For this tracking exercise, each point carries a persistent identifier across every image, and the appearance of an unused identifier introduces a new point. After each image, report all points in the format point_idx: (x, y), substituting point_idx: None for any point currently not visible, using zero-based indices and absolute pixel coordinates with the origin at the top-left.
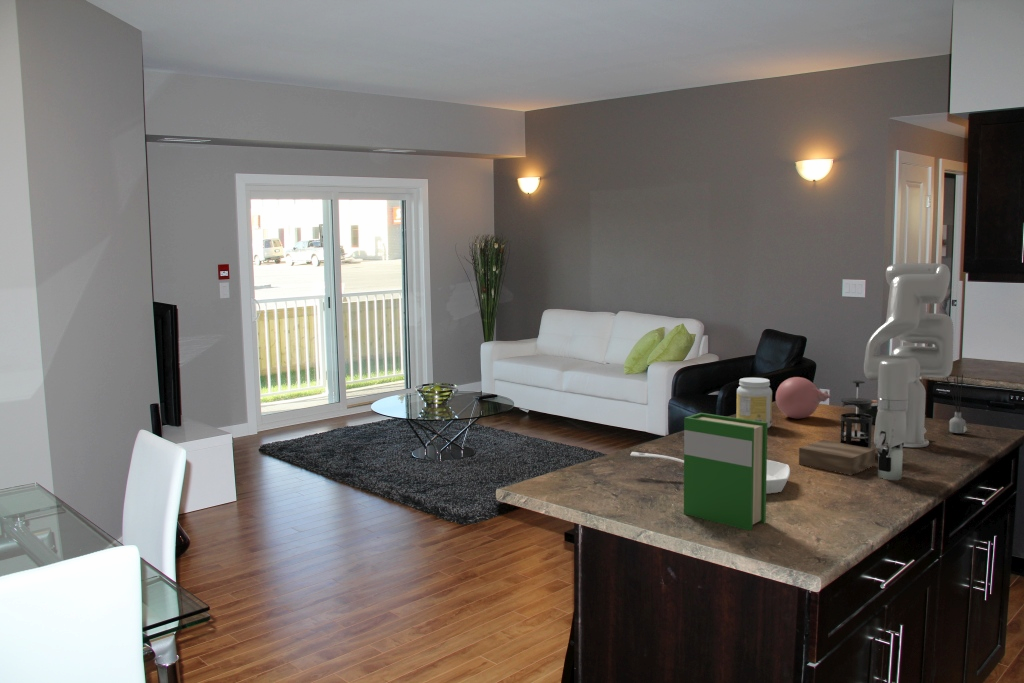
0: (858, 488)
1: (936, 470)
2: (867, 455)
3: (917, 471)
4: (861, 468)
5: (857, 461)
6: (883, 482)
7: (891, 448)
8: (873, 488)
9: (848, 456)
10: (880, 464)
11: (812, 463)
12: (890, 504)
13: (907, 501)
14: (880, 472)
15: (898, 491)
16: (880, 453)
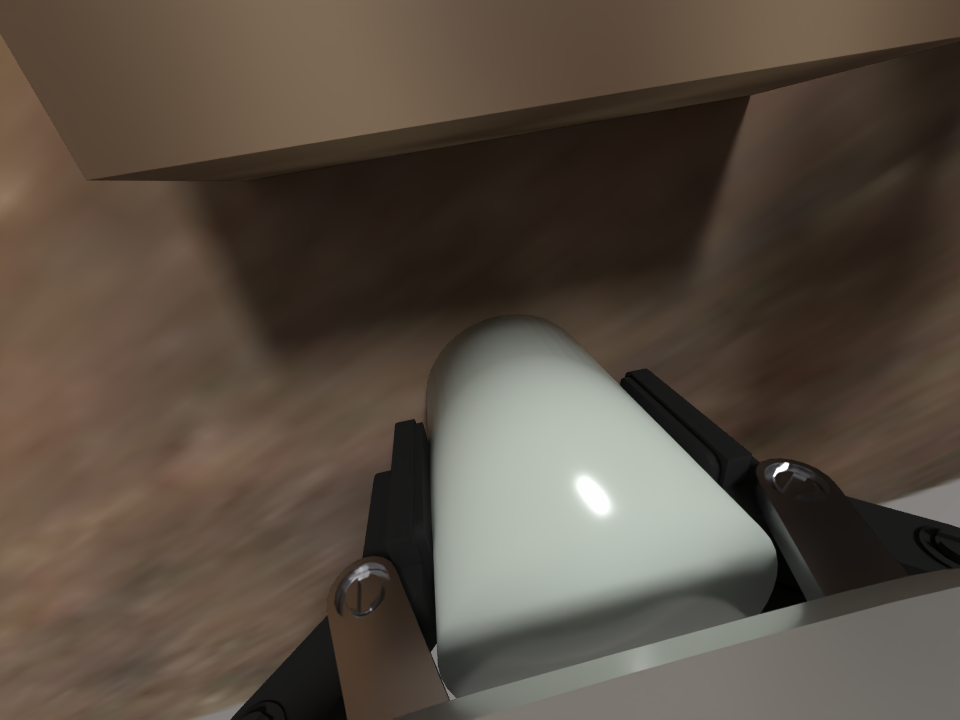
0: (28, 469)
1: (848, 429)
2: (690, 88)
3: (769, 393)
4: (475, 139)
5: (354, 149)
6: (353, 450)
7: (656, 613)
8: (162, 507)
9: (98, 21)
10: (371, 498)
11: None
12: (47, 693)
13: (188, 681)
14: (431, 398)
15: (282, 585)
16: (294, 682)
